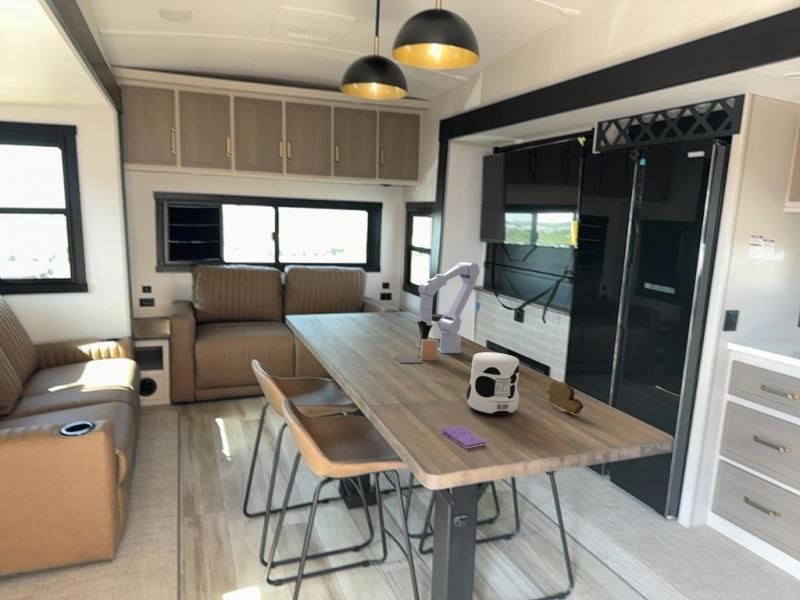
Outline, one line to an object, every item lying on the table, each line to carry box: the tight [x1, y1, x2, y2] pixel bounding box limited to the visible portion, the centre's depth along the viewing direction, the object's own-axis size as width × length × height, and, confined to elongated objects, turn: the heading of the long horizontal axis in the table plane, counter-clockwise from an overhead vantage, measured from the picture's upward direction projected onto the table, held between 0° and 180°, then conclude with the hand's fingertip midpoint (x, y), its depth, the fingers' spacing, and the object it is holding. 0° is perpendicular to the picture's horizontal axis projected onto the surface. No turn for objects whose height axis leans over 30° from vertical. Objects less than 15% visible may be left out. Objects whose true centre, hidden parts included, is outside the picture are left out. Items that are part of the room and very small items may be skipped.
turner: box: [414, 329, 428, 350], centre depth 244 cm, size 7×6×9 cm
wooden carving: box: [545, 380, 584, 415], centre depth 182 cm, size 16×5×10 cm, turn 28°
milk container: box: [466, 351, 520, 416], centre depth 178 cm, size 17×17×18 cm
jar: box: [428, 313, 444, 340], centre depth 282 cm, size 9×8×12 cm
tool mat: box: [394, 355, 423, 365], centre depth 235 cm, size 10×10×1 cm
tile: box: [420, 339, 439, 361], centre depth 238 cm, size 7×1×9 cm, turn 104°
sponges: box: [441, 425, 487, 448], centre depth 155 cm, size 7×13×2 cm, turn 28°
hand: (423, 337), depth 246 cm, fingers closed on turner, 2 cm apart
